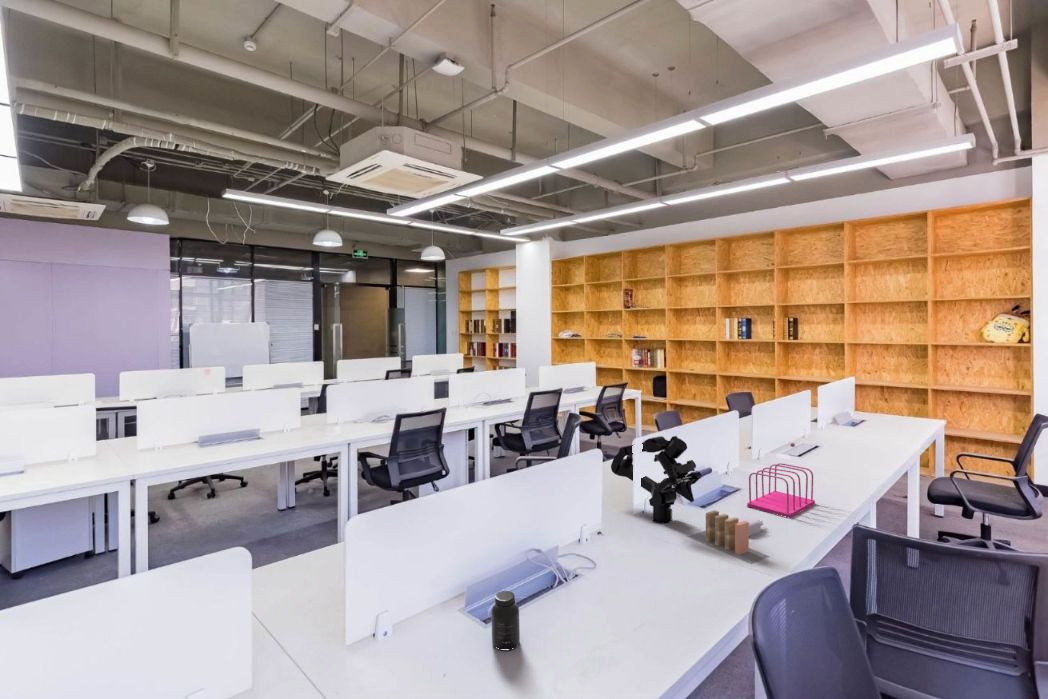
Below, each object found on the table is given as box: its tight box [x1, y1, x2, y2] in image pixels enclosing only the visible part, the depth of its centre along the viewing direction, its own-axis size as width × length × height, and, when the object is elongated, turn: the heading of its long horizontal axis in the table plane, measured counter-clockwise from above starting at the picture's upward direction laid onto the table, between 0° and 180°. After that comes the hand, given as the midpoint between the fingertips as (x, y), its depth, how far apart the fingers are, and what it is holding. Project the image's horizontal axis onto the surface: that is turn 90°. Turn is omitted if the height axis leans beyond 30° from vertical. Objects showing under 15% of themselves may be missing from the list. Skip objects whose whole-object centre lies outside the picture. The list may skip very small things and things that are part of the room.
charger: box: [728, 514, 764, 537], centre depth 195 cm, size 5×9×15 cm
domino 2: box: [715, 513, 729, 546], centre depth 182 cm, size 2×5×10 cm, turn 121°
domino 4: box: [735, 521, 750, 555], centre depth 175 cm, size 2×5×10 cm, turn 121°
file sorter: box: [746, 462, 816, 518], centre depth 221 cm, size 17×25×16 cm
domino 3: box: [725, 516, 738, 550], centre depth 178 cm, size 2×5×10 cm, turn 121°
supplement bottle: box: [490, 590, 521, 650], centre depth 127 cm, size 7×7×12 cm
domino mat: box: [686, 530, 771, 565], centre depth 180 cm, size 26×10×1 cm, turn 31°
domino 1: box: [705, 510, 720, 542], centre depth 185 cm, size 2×5×10 cm, turn 121°
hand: (692, 501), depth 192 cm, fingers closed
